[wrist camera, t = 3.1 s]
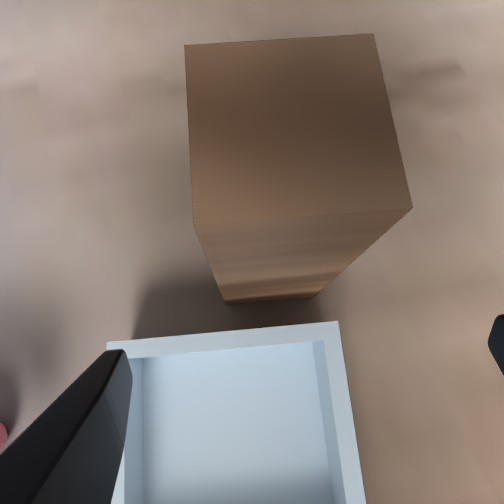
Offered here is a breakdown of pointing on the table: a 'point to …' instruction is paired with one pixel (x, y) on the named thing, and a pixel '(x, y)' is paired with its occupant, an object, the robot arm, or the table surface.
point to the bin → (240, 419)
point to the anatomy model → (2, 435)
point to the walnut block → (290, 161)
